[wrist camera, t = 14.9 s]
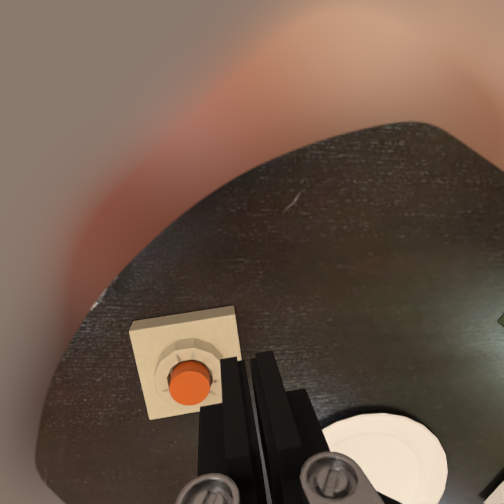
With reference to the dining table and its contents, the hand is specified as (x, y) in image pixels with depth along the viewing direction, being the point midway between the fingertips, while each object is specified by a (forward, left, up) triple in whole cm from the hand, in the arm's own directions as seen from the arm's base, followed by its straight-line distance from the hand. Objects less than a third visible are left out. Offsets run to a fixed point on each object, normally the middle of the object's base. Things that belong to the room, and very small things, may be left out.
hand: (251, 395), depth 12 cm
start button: (+13, -5, -22) cm, 26 cm away
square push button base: (+13, -5, -25) cm, 29 cm away
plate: (+33, +12, -25) cm, 43 cm away
